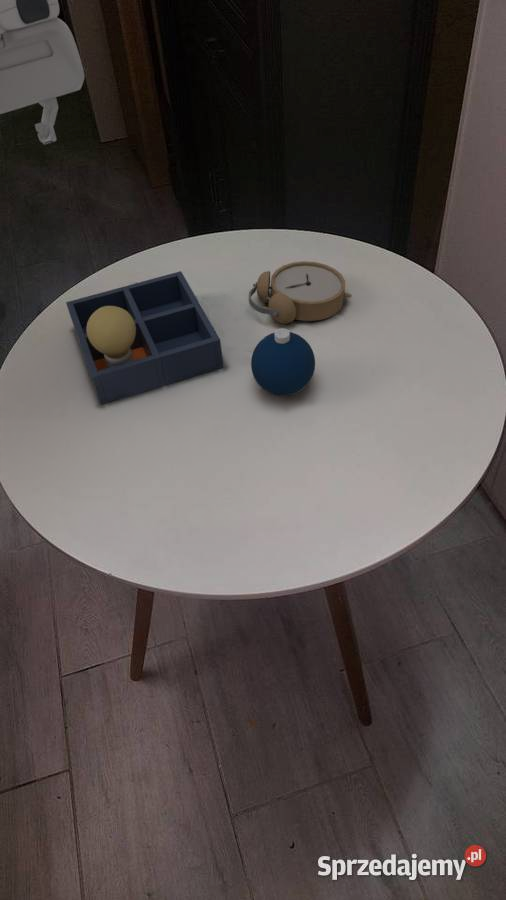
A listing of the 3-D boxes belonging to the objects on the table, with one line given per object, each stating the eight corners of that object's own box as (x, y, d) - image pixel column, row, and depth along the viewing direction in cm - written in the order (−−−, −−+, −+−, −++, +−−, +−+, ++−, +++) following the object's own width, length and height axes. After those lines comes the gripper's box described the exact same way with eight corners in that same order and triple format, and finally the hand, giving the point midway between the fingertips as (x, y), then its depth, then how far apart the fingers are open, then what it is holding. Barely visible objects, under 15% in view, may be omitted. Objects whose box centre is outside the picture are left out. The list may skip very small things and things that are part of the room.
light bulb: (152, 358, 97) (139, 300, 89) (132, 388, 93) (116, 330, 86) (112, 350, 99) (96, 293, 91) (90, 379, 95) (72, 322, 87)
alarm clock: (360, 294, 100) (267, 306, 95) (353, 322, 104) (263, 335, 99) (327, 255, 107) (238, 265, 102) (321, 283, 111) (235, 293, 106)
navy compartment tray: (100, 405, 92) (92, 377, 89) (74, 329, 104) (65, 302, 100) (223, 367, 96) (220, 339, 92) (185, 298, 107) (181, 270, 103)
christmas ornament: (294, 358, 96) (293, 300, 89) (326, 393, 91) (328, 334, 84) (241, 380, 94) (236, 322, 87) (272, 417, 89) (269, 359, 82)
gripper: (-145, 46, 59) (-78, 197, 69) (72, -8, 66) (103, 136, 76) (-162, 28, 62) (-95, 174, 73) (46, -22, 69) (80, 118, 80)
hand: (8, 154), depth 74 cm, fingers open, 8 cm apart
